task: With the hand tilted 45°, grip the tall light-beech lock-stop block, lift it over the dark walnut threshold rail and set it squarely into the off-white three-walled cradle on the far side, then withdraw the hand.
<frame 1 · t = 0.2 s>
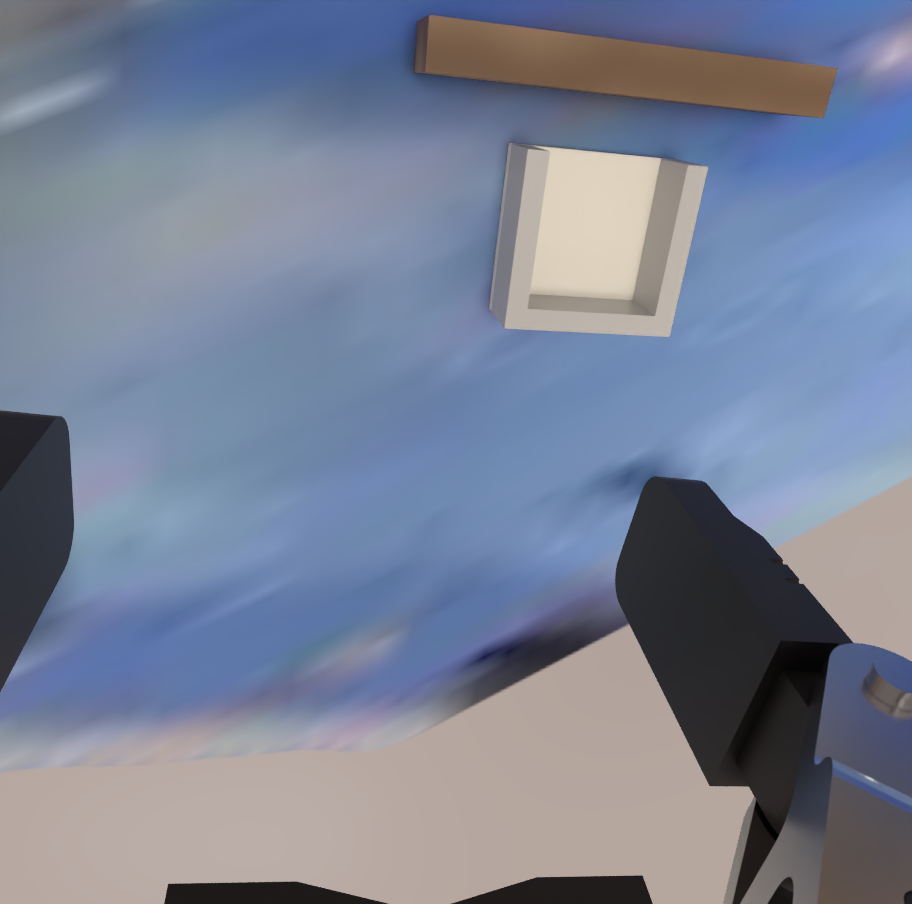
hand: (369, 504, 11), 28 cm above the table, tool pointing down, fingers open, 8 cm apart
threshold rail: (607, 70, 35), on the table
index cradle: (579, 235, 38), on the table
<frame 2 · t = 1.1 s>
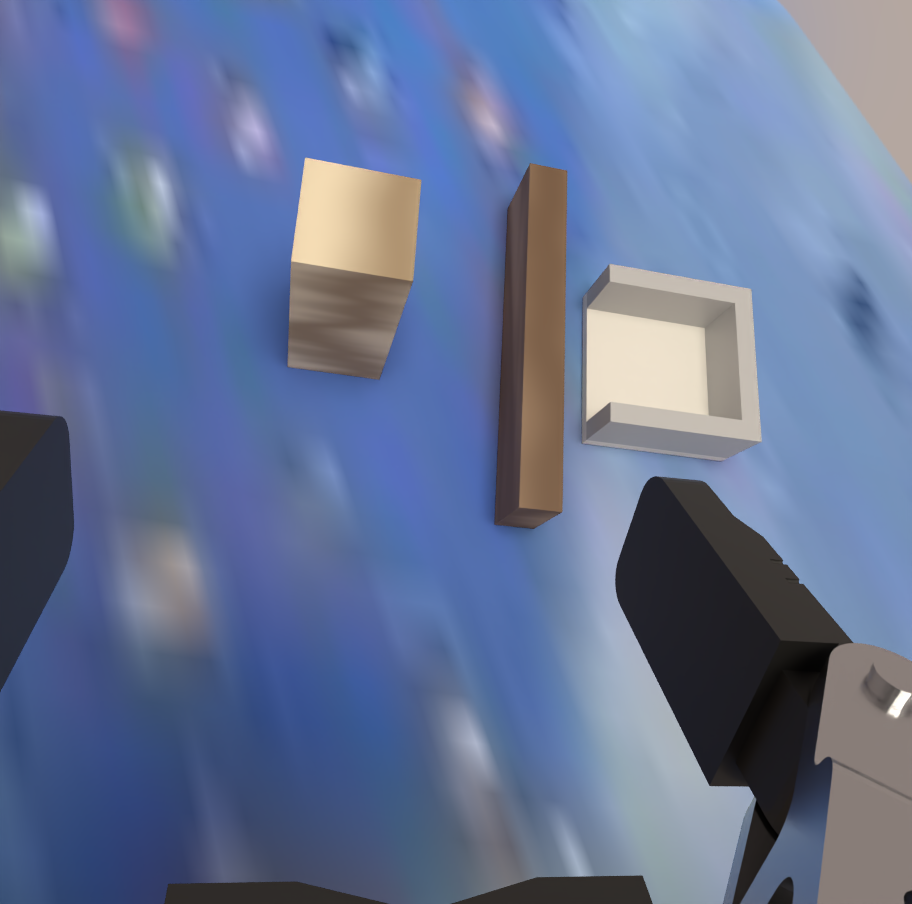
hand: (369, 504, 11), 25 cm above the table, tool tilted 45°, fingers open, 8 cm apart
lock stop: (338, 332, 38), on the table
threshold rail: (519, 358, 40), on the table
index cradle: (651, 378, 41), on the table
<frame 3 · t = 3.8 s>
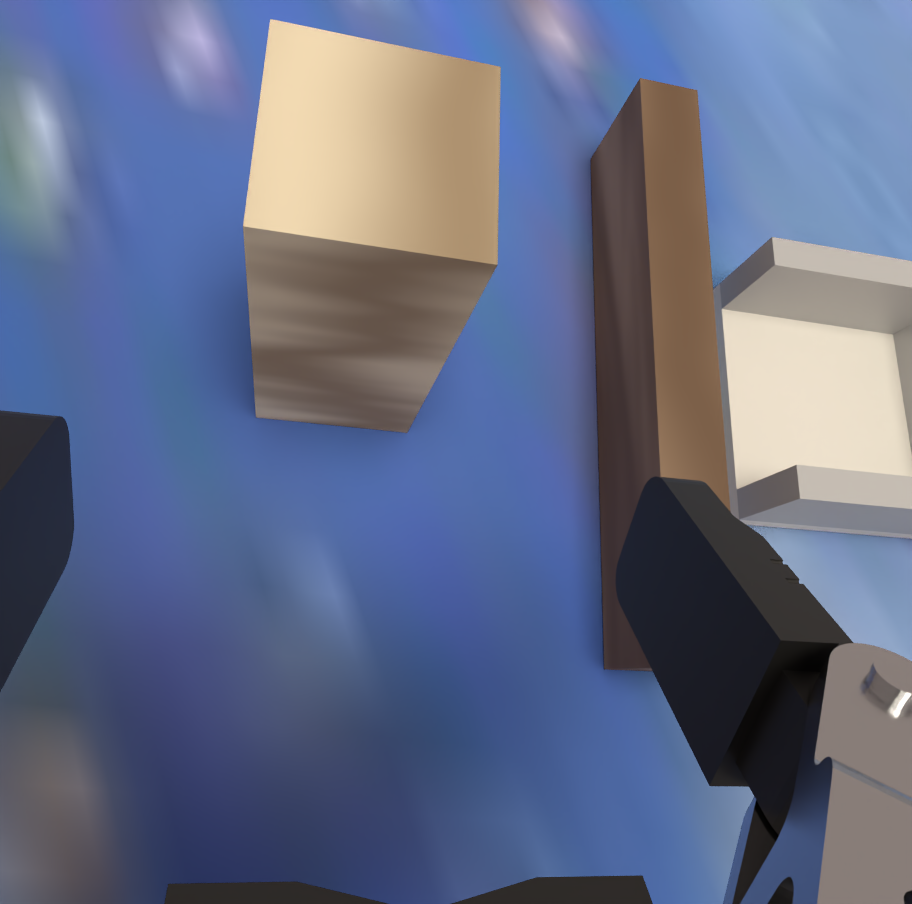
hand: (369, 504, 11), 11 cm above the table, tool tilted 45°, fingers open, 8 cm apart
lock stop: (338, 356, 23), on the table
threshold rail: (624, 390, 25), on the table
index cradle: (820, 414, 27), on the table
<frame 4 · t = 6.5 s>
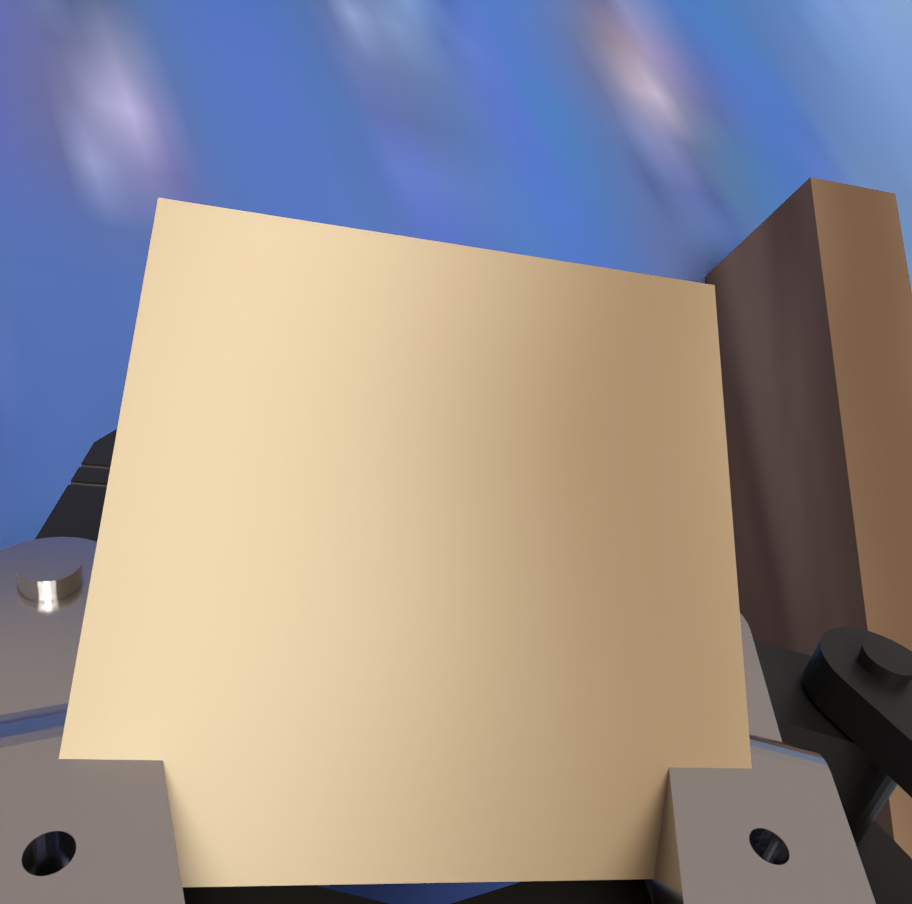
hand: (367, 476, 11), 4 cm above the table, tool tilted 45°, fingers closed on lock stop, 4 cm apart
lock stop: (338, 624, 15), on the table, touching gripper
threshold rail: (774, 646, 17), on the table
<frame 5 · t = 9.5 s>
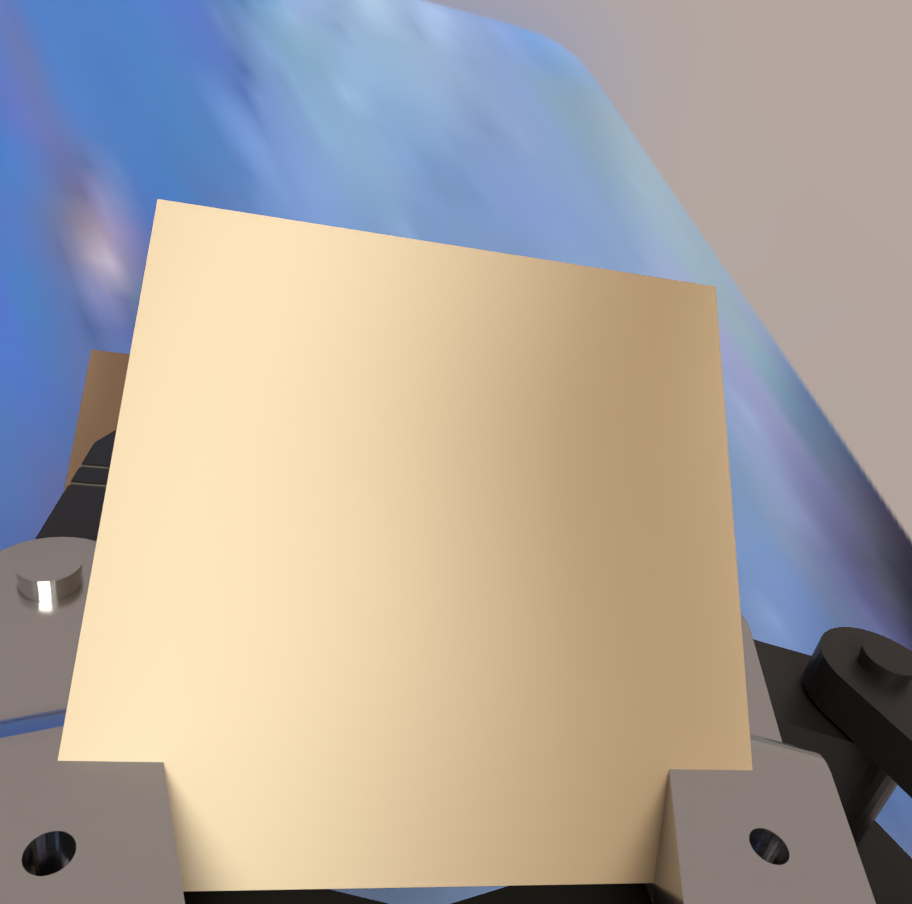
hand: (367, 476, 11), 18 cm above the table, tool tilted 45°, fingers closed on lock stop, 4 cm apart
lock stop: (338, 625, 15), point 14 cm above the table, touching gripper
threshold rail: (102, 639, 26), on the table
when the fingers open (6 cm above the table, at t = 12.5 s): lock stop drops 1 cm, resting on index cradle.
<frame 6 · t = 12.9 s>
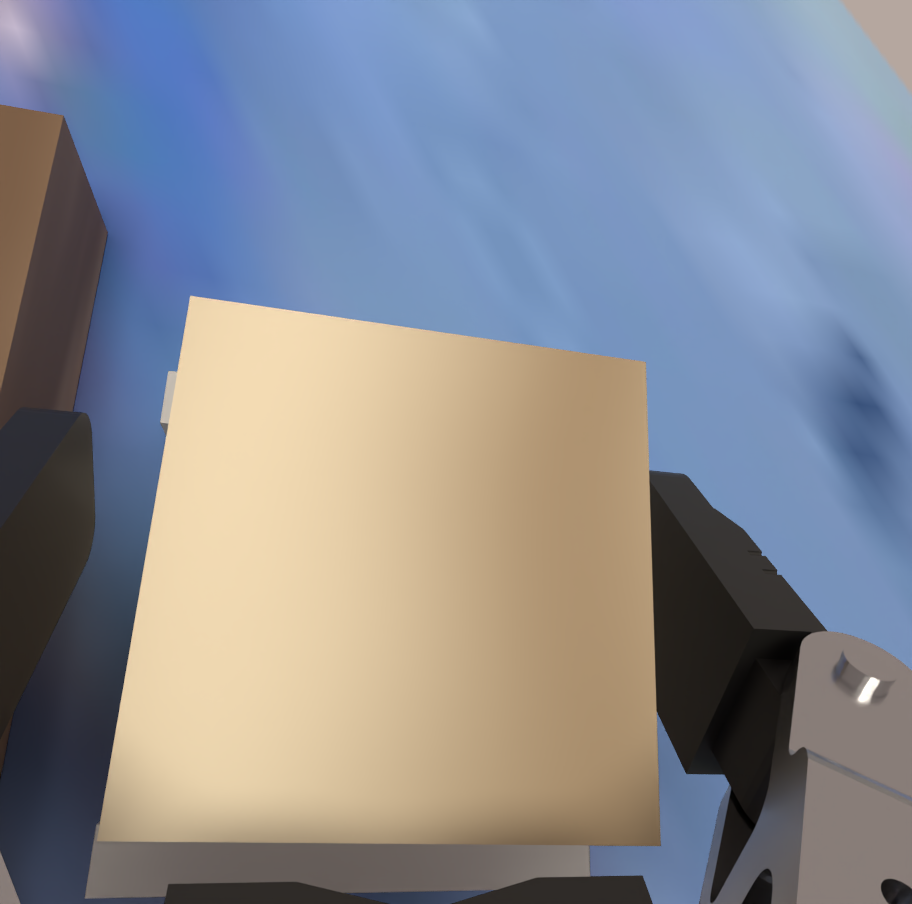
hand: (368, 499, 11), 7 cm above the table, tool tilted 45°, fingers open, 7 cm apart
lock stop: (335, 631, 16), point 1 cm above the table, touching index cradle
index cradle: (352, 632, 17), on the table
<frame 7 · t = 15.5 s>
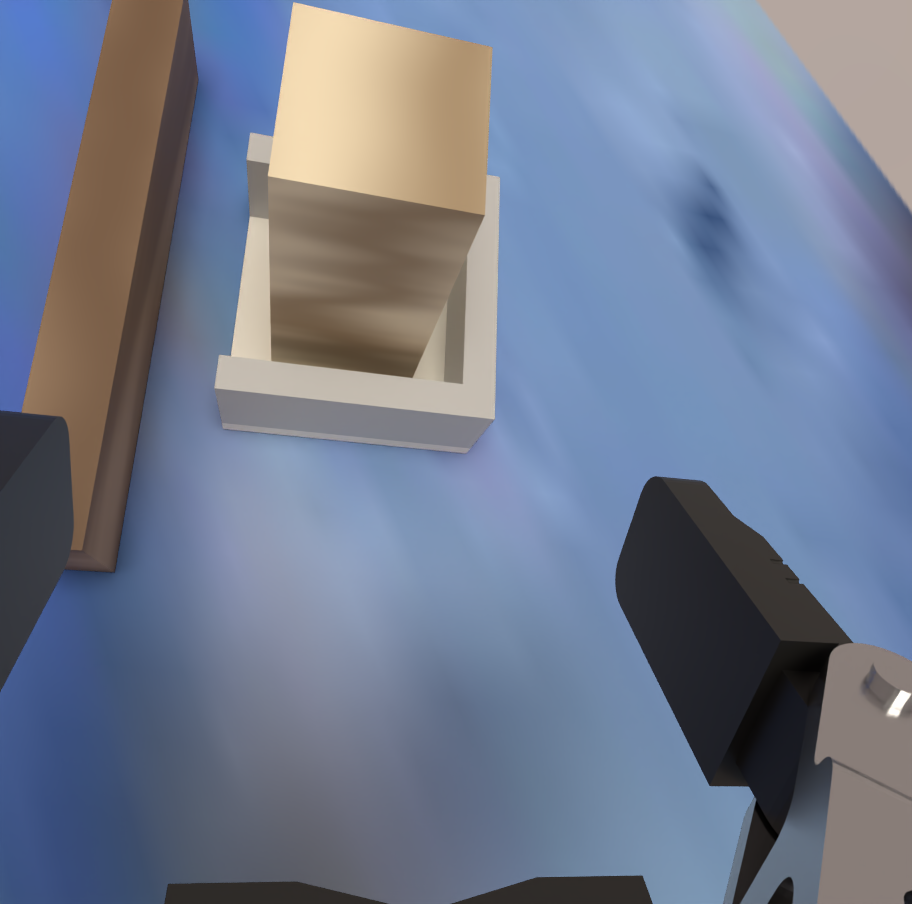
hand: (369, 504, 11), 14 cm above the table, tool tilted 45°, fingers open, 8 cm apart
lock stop: (347, 316, 26), point 1 cm above the table, touching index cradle
threshold rail: (128, 295, 25), on the table
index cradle: (358, 325, 26), on the table
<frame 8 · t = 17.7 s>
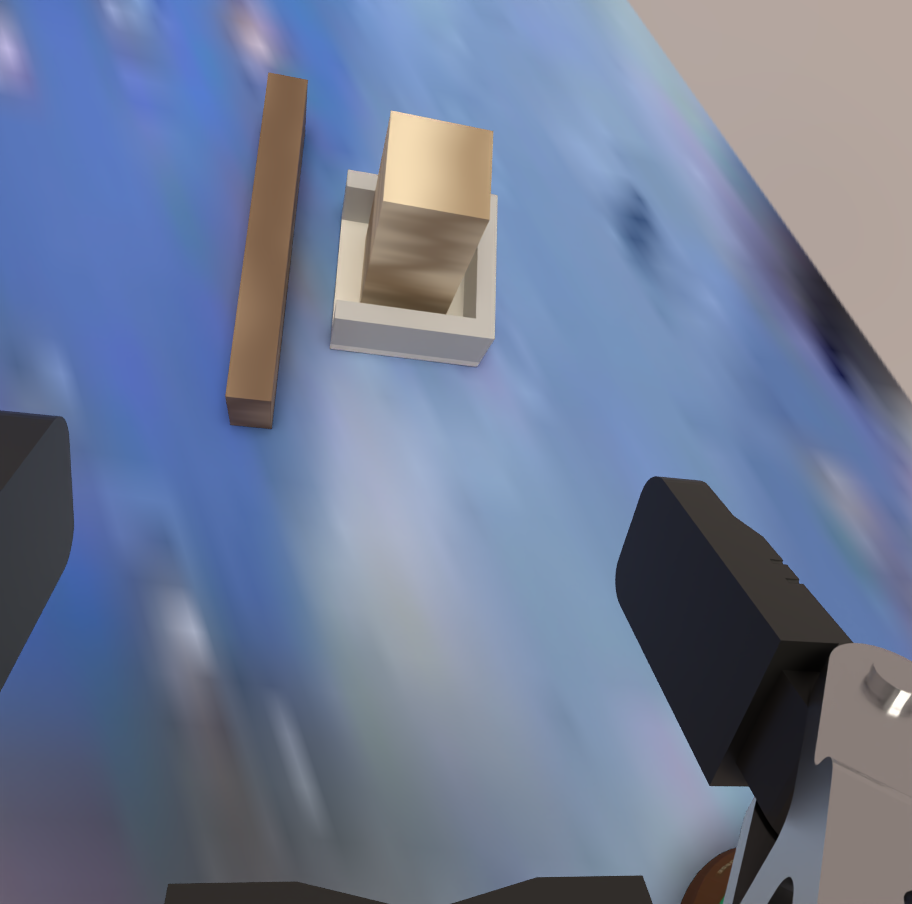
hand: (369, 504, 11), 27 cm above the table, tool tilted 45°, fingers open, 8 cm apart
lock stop: (403, 281, 41), point 1 cm above the table, touching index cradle
threshold rail: (270, 267, 40), on the table
food container: (740, 889, 37), on the table
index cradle: (408, 287, 42), on the table
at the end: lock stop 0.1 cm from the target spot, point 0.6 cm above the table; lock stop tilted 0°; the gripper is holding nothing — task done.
